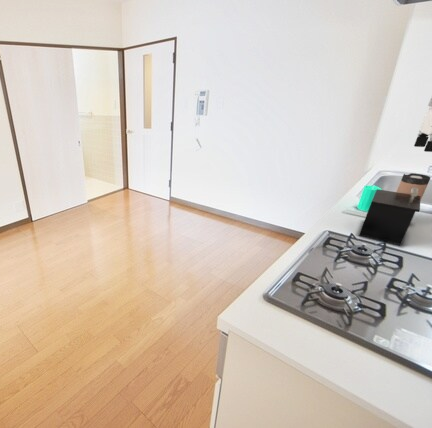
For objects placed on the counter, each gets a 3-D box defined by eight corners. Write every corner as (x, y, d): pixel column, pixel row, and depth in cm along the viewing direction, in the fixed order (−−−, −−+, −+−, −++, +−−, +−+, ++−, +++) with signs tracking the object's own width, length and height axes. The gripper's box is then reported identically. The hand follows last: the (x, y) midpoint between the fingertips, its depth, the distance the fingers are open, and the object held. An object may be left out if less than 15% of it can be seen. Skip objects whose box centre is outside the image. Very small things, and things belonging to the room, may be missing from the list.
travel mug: (410, 227, 112) (431, 180, 104) (384, 222, 117) (403, 176, 109) (409, 220, 117) (430, 175, 109) (385, 215, 122) (403, 172, 114)
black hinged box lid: (419, 197, 105) (425, 184, 103) (418, 212, 94) (425, 197, 92) (376, 190, 113) (380, 178, 111) (370, 203, 103) (375, 190, 100)
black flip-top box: (402, 229, 111) (416, 197, 105) (399, 246, 101) (415, 211, 95) (364, 221, 119) (376, 191, 113) (358, 235, 108) (370, 203, 103)
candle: (358, 205, 133) (366, 181, 128) (374, 208, 129) (384, 184, 124) (355, 209, 130) (364, 184, 125) (372, 212, 126) (382, 187, 121)
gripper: (470, 105, 96) (448, 154, 103) (446, 101, 110) (427, 145, 117) (440, 105, 99) (420, 153, 107) (419, 102, 113) (403, 144, 120)
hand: (424, 149), depth 112 cm, fingers open, 9 cm apart
